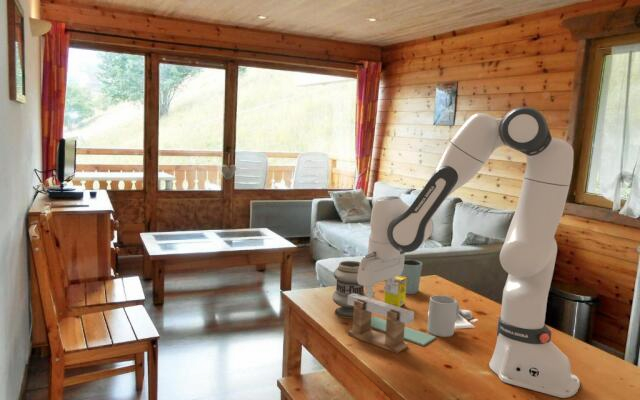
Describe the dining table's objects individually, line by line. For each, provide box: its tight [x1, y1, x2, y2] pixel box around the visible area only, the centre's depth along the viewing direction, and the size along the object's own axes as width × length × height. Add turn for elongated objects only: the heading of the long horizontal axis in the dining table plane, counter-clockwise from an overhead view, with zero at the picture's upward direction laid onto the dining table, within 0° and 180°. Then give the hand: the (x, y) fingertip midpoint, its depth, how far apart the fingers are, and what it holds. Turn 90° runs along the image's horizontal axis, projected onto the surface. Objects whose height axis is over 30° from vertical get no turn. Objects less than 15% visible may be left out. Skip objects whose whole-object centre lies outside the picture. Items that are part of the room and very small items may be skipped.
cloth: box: [427, 308, 479, 330], centre depth 173 cm, size 22×19×6 cm
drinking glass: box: [398, 258, 423, 295], centre depth 200 cm, size 10×10×12 cm
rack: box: [347, 300, 409, 354], centre depth 149 cm, size 18×6×11 cm, turn 50°
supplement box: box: [383, 276, 407, 308], centre depth 181 cm, size 6×6×11 cm
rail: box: [347, 293, 415, 325], centre depth 148 cm, size 22×3×3 cm, turn 50°
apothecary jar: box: [331, 260, 367, 319], centre depth 170 cm, size 12×12×18 cm
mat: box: [371, 315, 436, 347], centre depth 158 cm, size 24×8×1 cm, turn 50°
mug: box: [426, 294, 461, 338], centre depth 160 cm, size 12×8×11 cm
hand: (379, 294), depth 148 cm, fingers open, 8 cm apart
